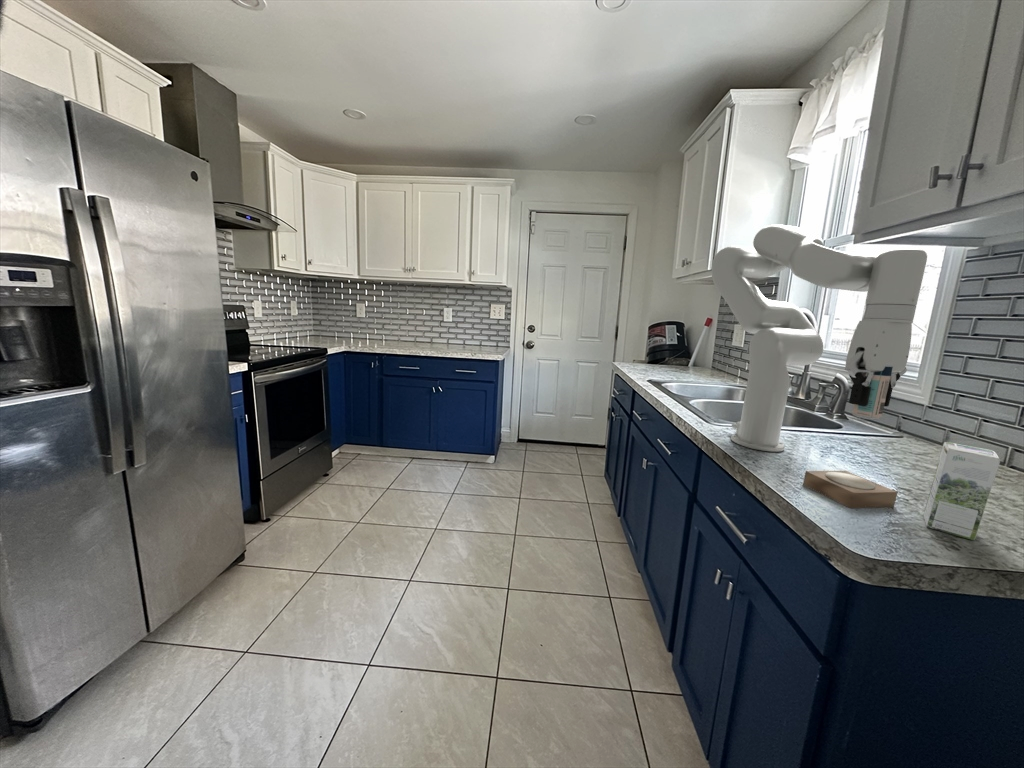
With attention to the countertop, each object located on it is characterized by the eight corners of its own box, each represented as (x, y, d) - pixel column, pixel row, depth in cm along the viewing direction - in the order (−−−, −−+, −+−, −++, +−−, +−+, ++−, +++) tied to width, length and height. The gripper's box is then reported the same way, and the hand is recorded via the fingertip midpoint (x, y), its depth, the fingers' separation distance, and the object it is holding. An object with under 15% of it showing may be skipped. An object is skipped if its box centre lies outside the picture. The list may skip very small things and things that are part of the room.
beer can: (875, 417, 84) (887, 360, 82) (885, 422, 80) (899, 362, 78) (847, 413, 86) (858, 357, 84) (856, 418, 82) (868, 359, 80)
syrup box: (969, 529, 69) (993, 449, 67) (975, 542, 65) (1001, 457, 62) (922, 516, 73) (943, 439, 70) (925, 528, 68) (948, 446, 66)
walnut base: (802, 484, 84) (805, 469, 83) (842, 483, 86) (845, 469, 85) (850, 508, 74) (854, 491, 74) (893, 506, 76) (898, 490, 75)
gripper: (898, 317, 85) (880, 401, 88) (834, 312, 81) (817, 400, 84) (942, 318, 78) (921, 409, 81) (875, 312, 74) (854, 408, 77)
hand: (868, 403), depth 83 cm, fingers closed on beer can, 4 cm apart
